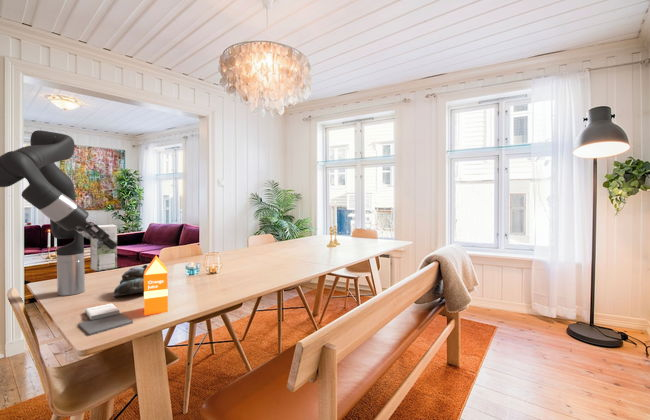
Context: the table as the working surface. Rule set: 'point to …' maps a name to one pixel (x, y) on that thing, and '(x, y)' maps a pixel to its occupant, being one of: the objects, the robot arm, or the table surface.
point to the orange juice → (155, 288)
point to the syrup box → (104, 250)
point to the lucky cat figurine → (131, 282)
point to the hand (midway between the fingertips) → (109, 246)
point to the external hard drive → (102, 311)
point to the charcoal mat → (104, 324)
